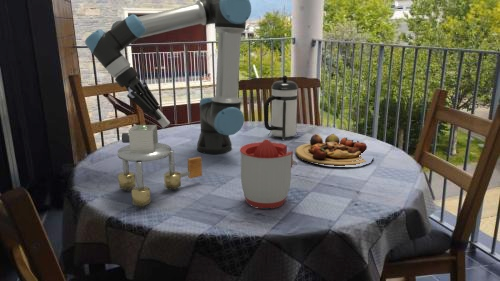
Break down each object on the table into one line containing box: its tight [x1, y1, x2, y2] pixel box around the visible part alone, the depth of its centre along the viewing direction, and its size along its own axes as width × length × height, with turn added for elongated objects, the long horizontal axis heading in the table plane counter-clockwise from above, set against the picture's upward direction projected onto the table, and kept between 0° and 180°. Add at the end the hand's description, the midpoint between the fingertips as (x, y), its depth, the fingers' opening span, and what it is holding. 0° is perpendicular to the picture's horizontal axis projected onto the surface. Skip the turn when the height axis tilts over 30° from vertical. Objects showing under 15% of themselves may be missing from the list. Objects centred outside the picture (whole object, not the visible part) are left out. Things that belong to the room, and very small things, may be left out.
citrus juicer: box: [239, 139, 298, 209], centre depth 121 cm, size 16×17×20 cm
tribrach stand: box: [117, 124, 172, 209], centre depth 124 cm, size 18×19×23 cm
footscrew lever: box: [163, 149, 203, 190], centre depth 133 cm, size 13×5×13 cm, turn 128°
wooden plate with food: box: [295, 133, 368, 166], centre depth 167 cm, size 32×32×8 cm
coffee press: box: [263, 75, 299, 140], centre depth 192 cm, size 17×16×30 cm
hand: (166, 125), depth 144 cm, fingers closed
